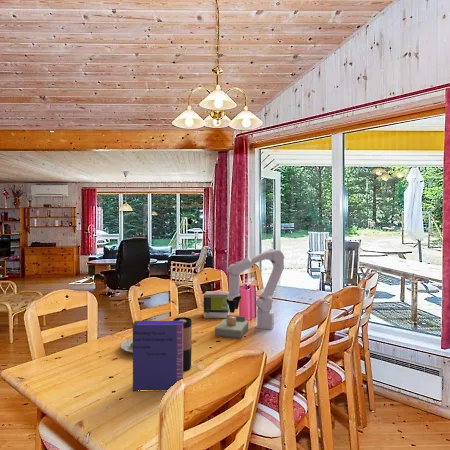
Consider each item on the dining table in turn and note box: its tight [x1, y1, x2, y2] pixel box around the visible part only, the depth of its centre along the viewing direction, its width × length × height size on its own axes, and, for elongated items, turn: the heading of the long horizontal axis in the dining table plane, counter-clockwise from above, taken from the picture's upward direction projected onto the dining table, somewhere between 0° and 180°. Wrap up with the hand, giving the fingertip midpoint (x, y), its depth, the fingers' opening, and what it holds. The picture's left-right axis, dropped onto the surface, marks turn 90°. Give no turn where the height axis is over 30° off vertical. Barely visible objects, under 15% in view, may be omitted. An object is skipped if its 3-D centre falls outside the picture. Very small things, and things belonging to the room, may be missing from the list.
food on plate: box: [119, 338, 133, 354], centre depth 168 cm, size 25×25×7 cm
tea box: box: [203, 290, 230, 319], centre depth 222 cm, size 15×10×15 cm
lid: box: [214, 314, 249, 332], centre depth 191 cm, size 14×16×3 cm
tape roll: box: [226, 315, 236, 326], centre depth 190 cm, size 5×5×4 cm
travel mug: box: [172, 316, 193, 373], centre depth 146 cm, size 8×8×20 cm
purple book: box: [132, 320, 184, 392], centre depth 129 cm, size 17×5×24 cm, turn 92°
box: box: [214, 323, 249, 340], centre depth 191 cm, size 14×16×4 cm
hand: (234, 310), depth 196 cm, fingers open, 7 cm apart
